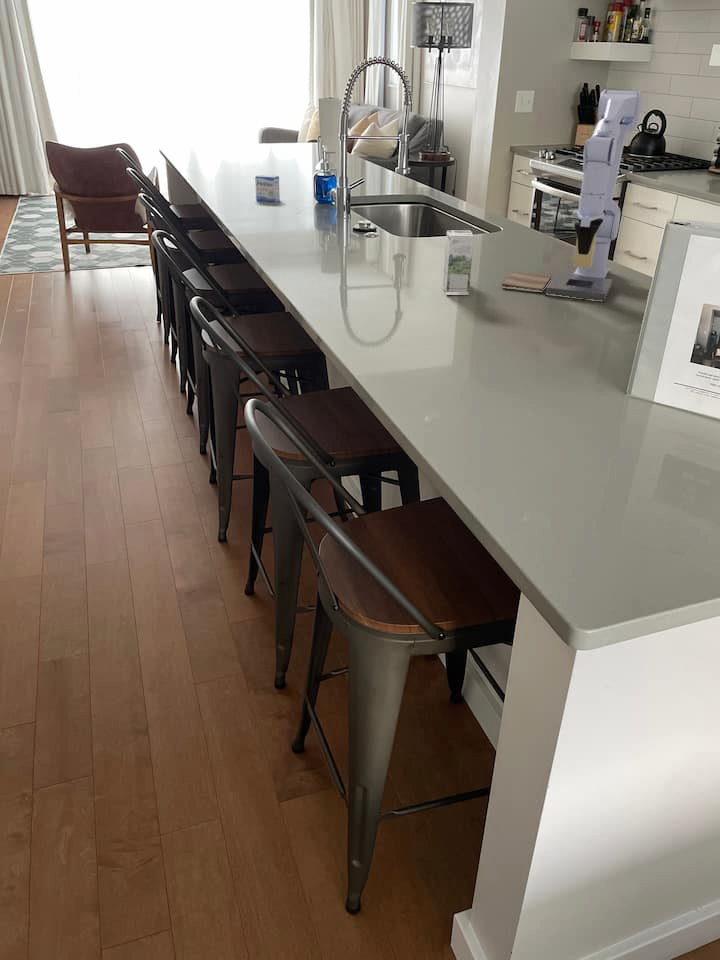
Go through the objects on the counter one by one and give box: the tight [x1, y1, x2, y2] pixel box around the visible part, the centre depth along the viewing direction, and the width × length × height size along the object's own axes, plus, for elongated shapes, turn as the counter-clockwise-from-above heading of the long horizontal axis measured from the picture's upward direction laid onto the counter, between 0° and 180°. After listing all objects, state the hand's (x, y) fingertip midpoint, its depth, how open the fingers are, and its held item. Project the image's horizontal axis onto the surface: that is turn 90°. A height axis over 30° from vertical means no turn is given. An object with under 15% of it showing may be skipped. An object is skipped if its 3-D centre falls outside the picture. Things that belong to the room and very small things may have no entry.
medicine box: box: [254, 174, 281, 203], centre depth 292 cm, size 8×4×9 cm, turn 73°
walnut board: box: [501, 271, 553, 292], centre depth 199 cm, size 12×10×1 cm
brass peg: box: [572, 231, 597, 268], centre depth 189 cm, size 4×4×8 cm
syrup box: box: [442, 229, 475, 293], centre depth 189 cm, size 6×6×14 cm
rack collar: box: [544, 272, 613, 301], centre depth 194 cm, size 14×14×2 cm
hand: (584, 251), depth 189 cm, fingers closed on brass peg, 4 cm apart
